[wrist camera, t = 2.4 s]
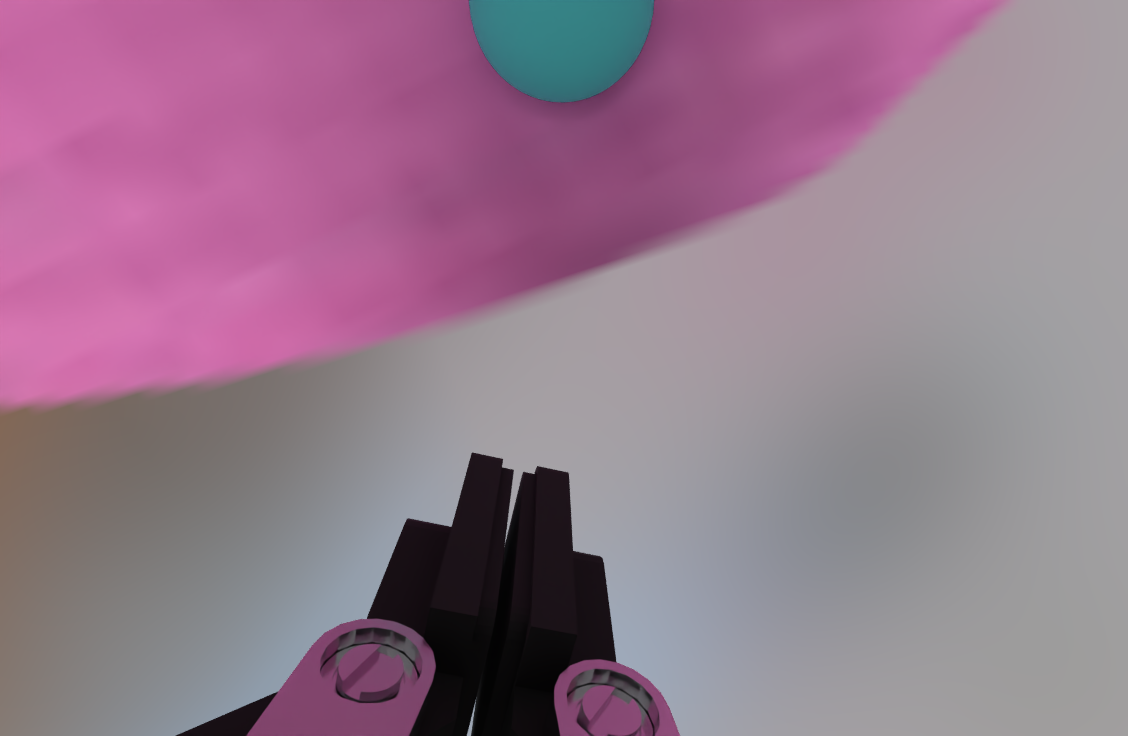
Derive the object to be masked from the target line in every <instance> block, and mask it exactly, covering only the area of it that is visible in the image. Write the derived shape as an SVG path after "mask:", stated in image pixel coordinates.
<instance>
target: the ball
mask: <svg viewBox="0 0 1128 736" xmlns="http://www.w3.org/2000/svg"><path fill="white" fill-rule="evenodd" d="M469 7H470V15H471V20H472V24H473V28H474V32H475V35H476V37H477V40H478V43H479V45H480V47H481V49H482V51H483V53H484V55H485V57H486V58H487V60H488V61H489V63H490V64H491V66H492V67H493V68H494V69H495V70H496V72H497V73H498V74H499V75H500V76H501V77H502V78H503V79H504V80H505V81H507V82H508V83H509V84H510V85H512V86H513V87H515V88H516V89H518V90H519V91H521V92H523V93H525V94H527V95H529V96H531V97H534V98H537V99H540V100H545V101H550V102H574V101H579V100H583V99H587V98H589V97H592V96H595V95H597V94H599V93H601V92H602V91H604V90H606V89H608V88H609V87H610V86H612V85H613V84H614V83H616V82H617V81H618V80H619V79H620V78H621V77H622V76H623V75H624V74H625V73H626V72H627V71H628V70H629V68H630V67H631V66H632V65H633V63H634V62H635V60H636V59H637V57H638V55H639V54H640V52H641V50H642V47H643V45H644V43H645V41H646V39H647V36H648V32H649V29H650V26H651V21H652V16H653V9H654V0H469Z"/></svg>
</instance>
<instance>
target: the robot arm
mask: <svg viewBox="0 0 1128 736" xmlns="http://www.w3.org/2000/svg"><path fill="white" fill-rule="evenodd" d="M502 463H503V459H500V458H495V457H491V456H486V455H481V454H476V453H472V454H471V458H470V461H469V465H468V469H467V472H466V476H465V480H464V484H463V487H462V491H461V495H460V498H459V502H458V506H457V509H456V513H455V517H454V520H453V524H452V527H449V526H444V525H439V524H434V523H429V522H423V521H419V520H414V519H407V520H406V522H405V525H404V527H403V530H402V532H401V534H400V537H399V539H398V542H397V544H396V547H395V549H394V552H393V554H392V557H391V559H390V562H389V564H388V567H387V569H386V572H385V574H384V577H383V579H382V582H381V584H380V587H379V589H378V592H377V594H376V597H375V599H374V602H373V604H372V607H371V609H370V612H369V614H368V617H367V619H360V620H355V621H351V622H347V623H344V624H340V625H339V626H337V627H335V628H333V629H331V630H329V631H327V632H325V633H324V634H323V635H322V636H321V637H320V638H319V639H318V640H317V641H316V642H315V643H314V644H313V645H312V647H311V648H310V649H309V651H308V652H307V653H306V655H305V656H304V657H303V659H302V660H301V661H300V663H299V665H298V666H297V667H296V668H295V670H294V671H293V672H292V674H291V675H290V677H289V678H288V679H287V681H286V682H285V683H284V685H283V686H282V688H281V689H280V690H279V691H278V692H276V693H273V694H271V695H269V696H267V697H264V698H262V699H260V700H257V701H255V702H253V703H250V704H248V705H246V706H243V707H241V708H239V709H237V710H234V711H232V712H229V713H227V714H225V715H222V716H220V717H218V718H216V719H213V720H211V721H209V722H206V723H204V724H202V725H199V726H197V727H195V728H193V729H190V730H188V731H185V732H183V733H181V734H178V735H176V736H467V732H468V729H469V725H470V721H471V717H472V713H473V708H474V704H475V700H476V704H475V712H474V718H473V726H472V733H471V736H680V734H679V732H678V730H677V727H676V724H675V721H674V719H673V716H672V713H671V711H670V708H669V706H668V705H667V703H666V701H665V699H664V697H663V696H662V694H661V693H660V692H659V691H658V689H657V688H656V687H655V686H654V685H653V684H652V683H651V682H650V681H649V680H648V679H646V678H645V677H644V676H642V675H641V674H639V673H638V672H636V671H635V670H633V669H631V668H629V667H626V666H624V665H621V664H619V663H616V655H615V648H614V640H613V632H612V624H611V617H610V608H609V601H608V593H607V585H606V577H605V569H604V562H603V559H602V557H600V556H596V555H591V554H585V553H580V552H575V551H573V543H572V525H571V505H570V487H569V474H568V472H563V471H558V470H553V469H548V468H544V467H539V466H537V468H536V471H535V474H531V473H526V472H523V475H522V478H521V482H520V486H519V490H518V494H517V498H516V502H515V506H514V510H513V514H512V519H511V523H510V527H509V531H508V535H507V539H506V543H505V537H506V529H507V521H508V513H509V504H510V496H511V488H512V480H513V472H514V470H512V469H507V468H502ZM504 546H505V547H504Z"/></svg>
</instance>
